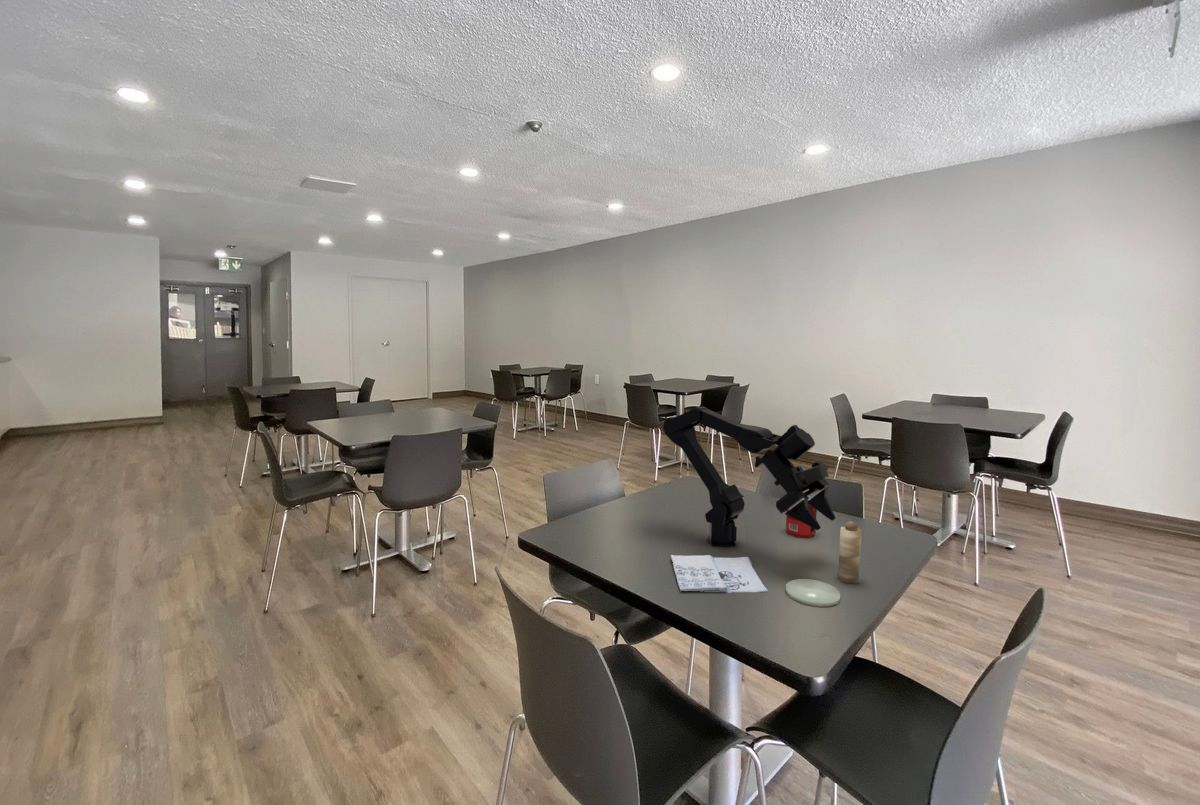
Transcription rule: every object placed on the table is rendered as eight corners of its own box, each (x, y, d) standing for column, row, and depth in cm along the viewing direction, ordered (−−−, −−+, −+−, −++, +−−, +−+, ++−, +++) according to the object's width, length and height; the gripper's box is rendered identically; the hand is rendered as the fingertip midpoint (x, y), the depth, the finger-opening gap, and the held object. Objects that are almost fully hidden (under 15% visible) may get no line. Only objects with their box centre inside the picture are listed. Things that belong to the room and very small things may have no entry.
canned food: (817, 539, 150) (819, 500, 149) (787, 537, 152) (789, 499, 151) (812, 529, 158) (814, 493, 157) (784, 527, 159) (785, 491, 158)
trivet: (795, 606, 112) (795, 601, 112) (779, 582, 123) (779, 578, 123) (848, 607, 112) (849, 602, 112) (828, 583, 123) (828, 579, 123)
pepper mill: (842, 583, 123) (845, 524, 121) (834, 575, 127) (837, 518, 126) (862, 583, 123) (865, 524, 121) (853, 575, 127) (857, 518, 126)
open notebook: (670, 560, 137) (670, 552, 137) (750, 561, 136) (750, 553, 136) (678, 595, 118) (678, 586, 118) (771, 597, 117) (772, 588, 117)
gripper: (790, 457, 122) (838, 515, 116) (822, 446, 136) (866, 497, 130) (757, 485, 129) (801, 541, 122) (790, 471, 142) (831, 521, 136)
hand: (826, 524), depth 127 cm, fingers open, 9 cm apart
